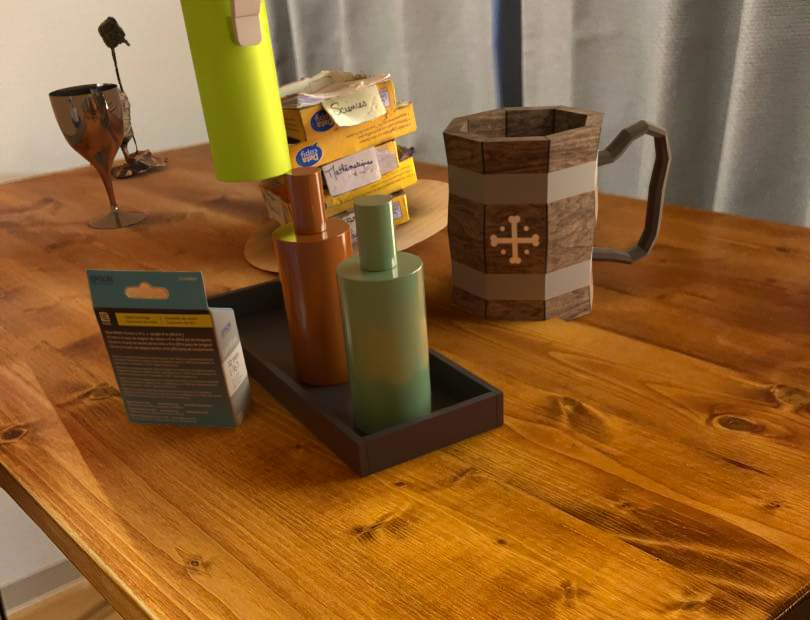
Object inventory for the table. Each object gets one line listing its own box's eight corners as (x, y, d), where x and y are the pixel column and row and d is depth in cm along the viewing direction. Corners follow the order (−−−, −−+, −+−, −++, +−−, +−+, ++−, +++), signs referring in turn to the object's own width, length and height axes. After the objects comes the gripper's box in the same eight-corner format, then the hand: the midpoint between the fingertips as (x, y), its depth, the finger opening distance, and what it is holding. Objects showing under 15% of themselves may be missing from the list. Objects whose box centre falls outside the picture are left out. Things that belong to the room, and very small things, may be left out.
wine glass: (102, 233, 107) (65, 99, 98) (75, 222, 112) (37, 93, 103) (160, 217, 111) (129, 86, 102) (131, 207, 116) (99, 81, 107)
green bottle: (378, 446, 59) (353, 220, 50) (340, 415, 63) (311, 200, 54) (447, 421, 61) (436, 199, 52) (407, 392, 65) (389, 182, 56)
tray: (362, 488, 56) (357, 444, 54) (198, 336, 79) (190, 301, 77) (504, 434, 61) (503, 391, 59) (310, 304, 83) (305, 270, 81)
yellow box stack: (257, 294, 86) (224, 109, 76) (234, 224, 106) (205, 70, 96) (495, 256, 90) (492, 75, 80) (430, 196, 110) (422, 44, 100)
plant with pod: (95, 171, 134) (54, 21, 122) (169, 161, 136) (136, 12, 124) (93, 184, 128) (50, 27, 116) (171, 172, 130) (136, 17, 118)
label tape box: (258, 412, 66) (226, 249, 59) (238, 439, 63) (201, 271, 56) (152, 407, 68) (108, 249, 61) (127, 433, 65) (78, 270, 58)
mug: (467, 340, 74) (461, 150, 65) (434, 285, 84) (425, 116, 76) (688, 308, 76) (712, 120, 67) (629, 258, 86) (642, 91, 78)
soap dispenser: (254, 162, 72) (199, -142, 61) (306, 168, 68) (257, -158, 57) (195, 177, 69) (125, -140, 58) (245, 185, 65) (180, -157, 54)
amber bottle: (314, 393, 66) (282, 186, 57) (283, 367, 70) (250, 171, 61) (378, 372, 68) (357, 169, 59) (345, 348, 72) (321, 156, 63)
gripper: (94, -188, 61) (144, 37, 69) (191, -232, 47) (240, 60, 55) (180, -192, 64) (218, 26, 72) (298, -235, 49) (329, 45, 57)
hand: (228, 41), depth 63 cm, fingers closed on soap dispenser, 6 cm apart
